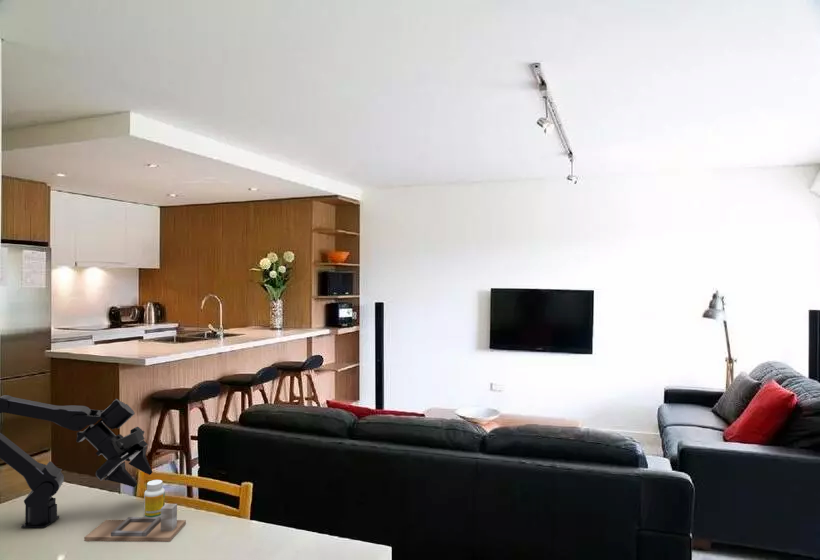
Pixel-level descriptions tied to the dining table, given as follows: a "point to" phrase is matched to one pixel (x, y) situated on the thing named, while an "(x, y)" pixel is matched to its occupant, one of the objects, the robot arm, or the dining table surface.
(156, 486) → the supplement bottle
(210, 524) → the dining table surface
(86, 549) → the dining table surface
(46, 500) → the robot arm
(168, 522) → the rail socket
